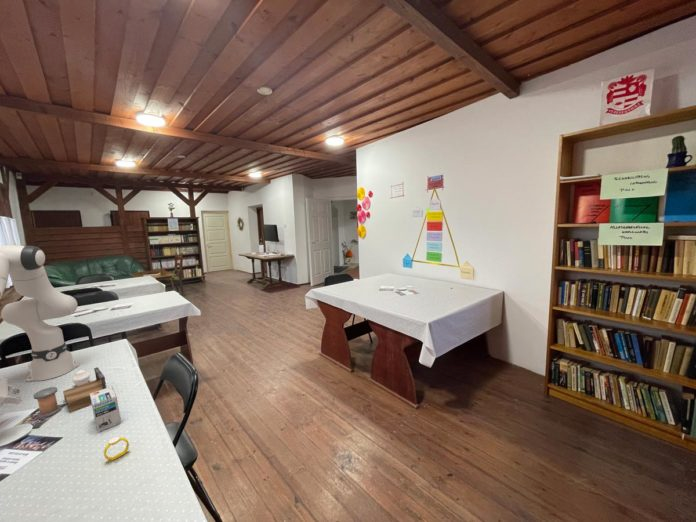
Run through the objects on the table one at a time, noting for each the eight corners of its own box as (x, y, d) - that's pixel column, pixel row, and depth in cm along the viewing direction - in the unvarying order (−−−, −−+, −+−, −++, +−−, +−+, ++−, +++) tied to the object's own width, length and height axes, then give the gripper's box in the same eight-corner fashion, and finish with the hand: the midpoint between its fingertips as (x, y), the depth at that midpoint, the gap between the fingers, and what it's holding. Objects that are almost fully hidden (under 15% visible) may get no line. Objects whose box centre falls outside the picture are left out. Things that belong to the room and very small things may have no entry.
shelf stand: (64, 399, 121) (60, 378, 119) (101, 386, 130) (98, 366, 129) (70, 412, 112) (65, 390, 111) (109, 397, 121) (105, 376, 120)
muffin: (78, 389, 128) (75, 374, 127) (70, 387, 131) (67, 372, 130) (94, 382, 134) (92, 368, 133) (86, 379, 136) (84, 366, 135)
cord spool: (37, 414, 112) (32, 392, 111) (60, 405, 117) (56, 385, 116) (38, 420, 108) (34, 398, 107) (62, 411, 113) (58, 390, 112)
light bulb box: (121, 423, 105) (117, 395, 103) (97, 433, 100) (92, 405, 98) (116, 410, 112) (112, 385, 111) (93, 420, 107) (89, 393, 106)
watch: (128, 448, 92) (126, 431, 92) (130, 452, 91) (128, 435, 90) (104, 460, 88) (101, 442, 87) (106, 465, 86) (103, 447, 85)
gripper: (-22, 385, 92) (29, 398, 101) (-19, 367, 105) (25, 379, 114) (-42, 405, 89) (12, 416, 98) (-37, 383, 102) (11, 395, 111)
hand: (19, 396), depth 106 cm, fingers open, 8 cm apart
